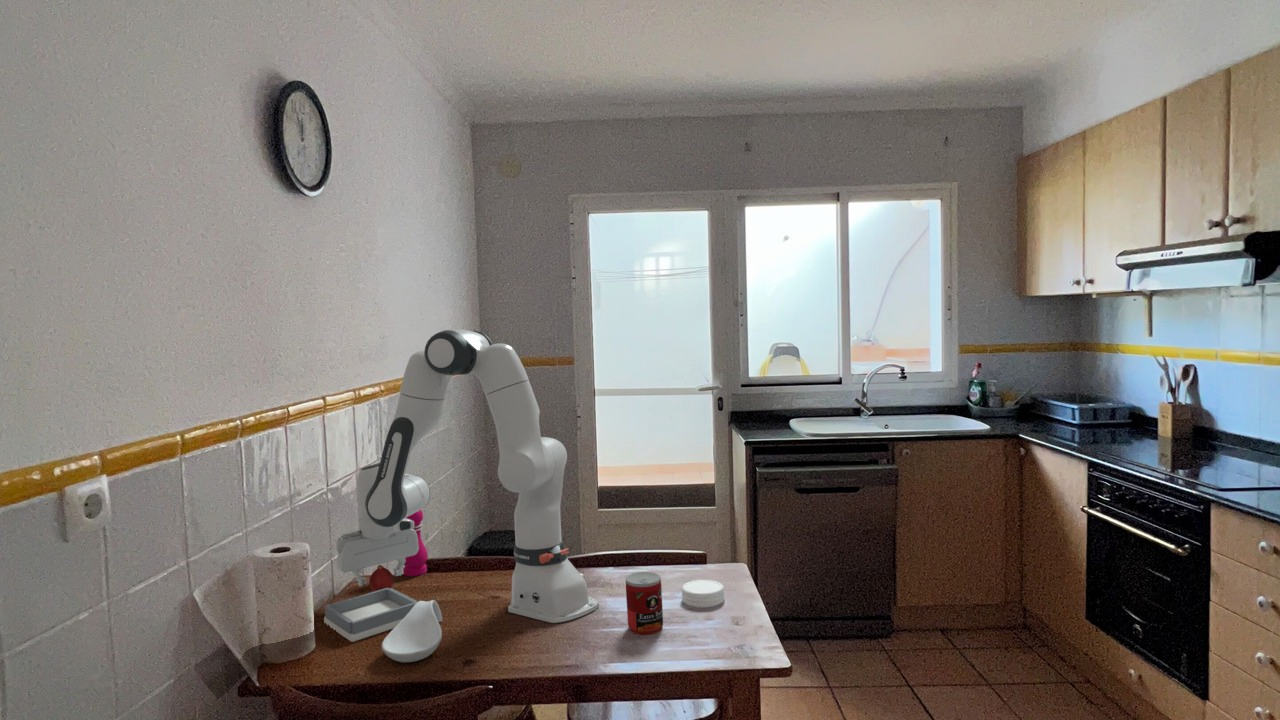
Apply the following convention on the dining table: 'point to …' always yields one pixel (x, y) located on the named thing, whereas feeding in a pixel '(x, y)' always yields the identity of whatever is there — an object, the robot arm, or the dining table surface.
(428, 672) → the dining table surface
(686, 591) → the white short cylinder
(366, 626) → the stand
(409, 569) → the pepper mill
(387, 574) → the onion
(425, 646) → the spoon rest
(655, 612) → the canned food
